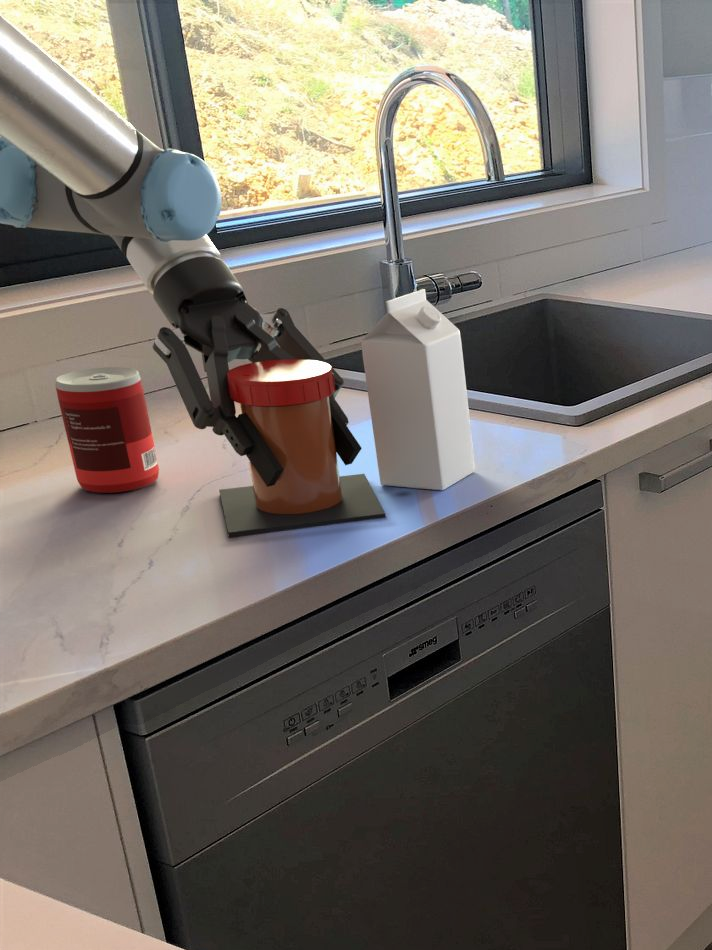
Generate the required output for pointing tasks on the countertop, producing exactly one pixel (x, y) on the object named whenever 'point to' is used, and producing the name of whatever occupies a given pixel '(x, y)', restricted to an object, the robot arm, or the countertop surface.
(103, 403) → the canned food
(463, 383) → the milk carton
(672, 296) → the countertop surface
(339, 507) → the mat
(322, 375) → the jar lid
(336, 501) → the jar
